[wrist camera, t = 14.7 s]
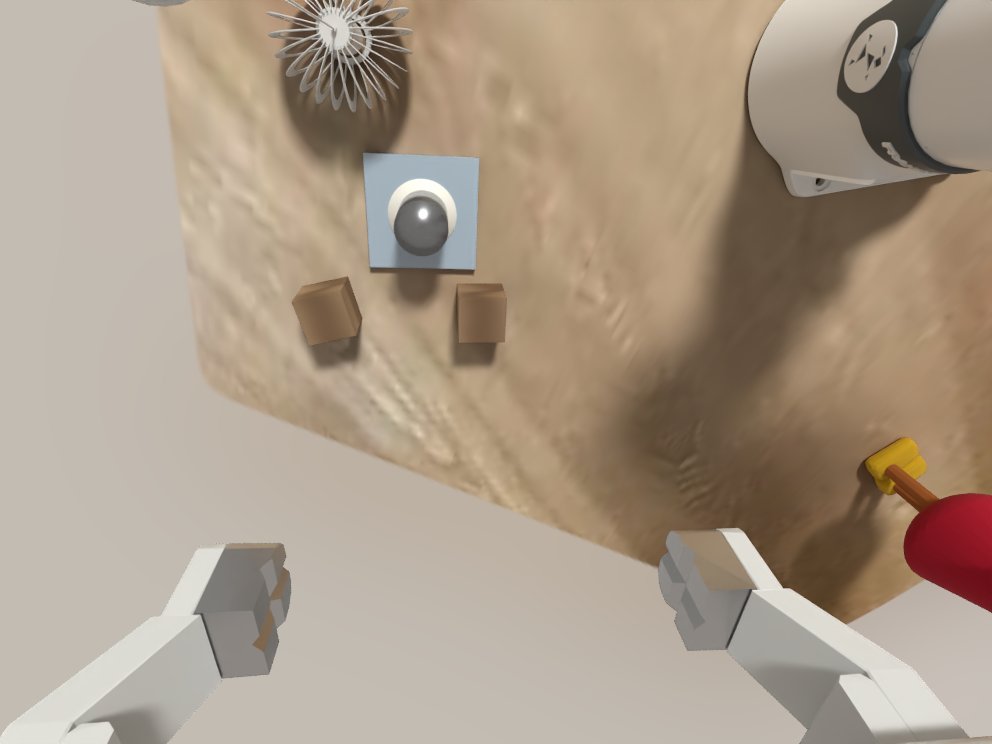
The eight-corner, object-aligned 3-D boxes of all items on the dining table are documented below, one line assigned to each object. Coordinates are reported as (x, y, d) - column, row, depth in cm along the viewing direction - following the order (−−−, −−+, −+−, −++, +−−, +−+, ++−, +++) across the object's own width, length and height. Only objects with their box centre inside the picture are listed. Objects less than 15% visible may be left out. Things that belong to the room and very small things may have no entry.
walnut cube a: (501, 283, 47) (506, 298, 43) (500, 324, 48) (504, 342, 45) (457, 283, 46) (458, 298, 43) (457, 324, 48) (458, 342, 45)
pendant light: (363, 139, 40) (217, 220, 14) (254, 41, 36) (-229, -103, 10) (441, 35, 37) (446, -114, 11) (332, -82, 34) (-52, -715, 7)
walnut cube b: (347, 276, 45) (340, 291, 41) (362, 317, 47) (355, 335, 43) (303, 285, 45) (291, 301, 42) (319, 327, 47) (309, 345, 43)
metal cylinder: (447, 240, 44) (448, 257, 39) (399, 239, 43) (394, 255, 39) (447, 191, 42) (448, 202, 37) (397, 189, 41) (392, 200, 37)
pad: (478, 157, 41) (479, 158, 41) (474, 267, 46) (475, 269, 45) (363, 152, 40) (362, 153, 40) (370, 264, 45) (369, 267, 44)
